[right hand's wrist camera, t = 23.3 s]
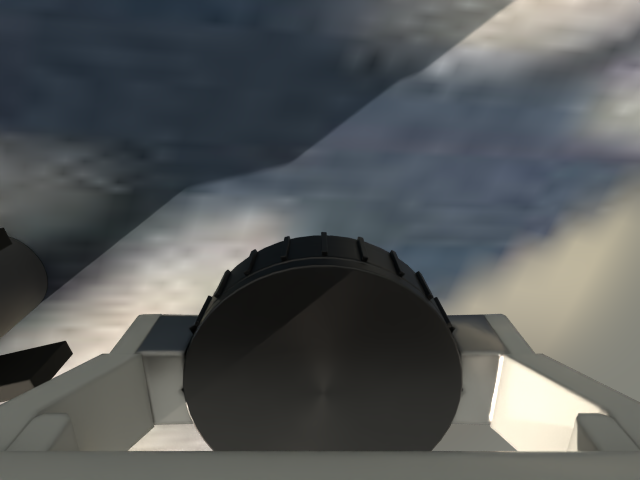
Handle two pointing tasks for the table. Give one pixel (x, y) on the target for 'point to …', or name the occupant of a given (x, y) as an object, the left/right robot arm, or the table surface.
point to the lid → (322, 353)
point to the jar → (19, 284)
